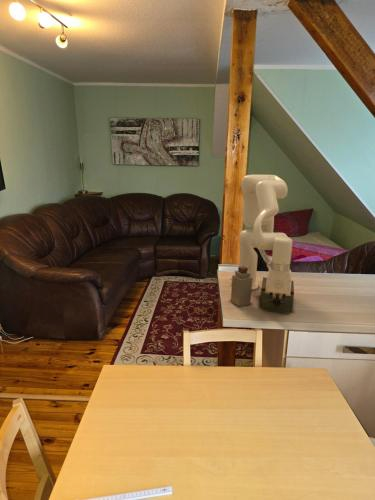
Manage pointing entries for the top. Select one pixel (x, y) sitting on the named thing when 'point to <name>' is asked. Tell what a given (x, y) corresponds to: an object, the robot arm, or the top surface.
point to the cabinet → (265, 288)
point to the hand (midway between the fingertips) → (276, 306)
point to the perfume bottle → (241, 287)
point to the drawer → (268, 303)
